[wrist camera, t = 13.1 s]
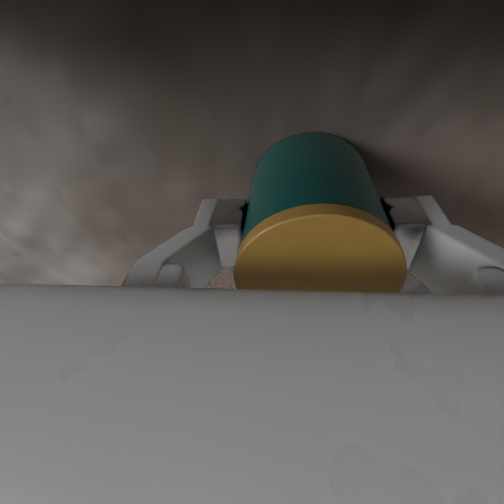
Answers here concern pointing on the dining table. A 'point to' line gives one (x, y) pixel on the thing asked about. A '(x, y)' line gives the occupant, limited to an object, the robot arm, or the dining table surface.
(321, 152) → the tea tin
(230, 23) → the dining table surface
